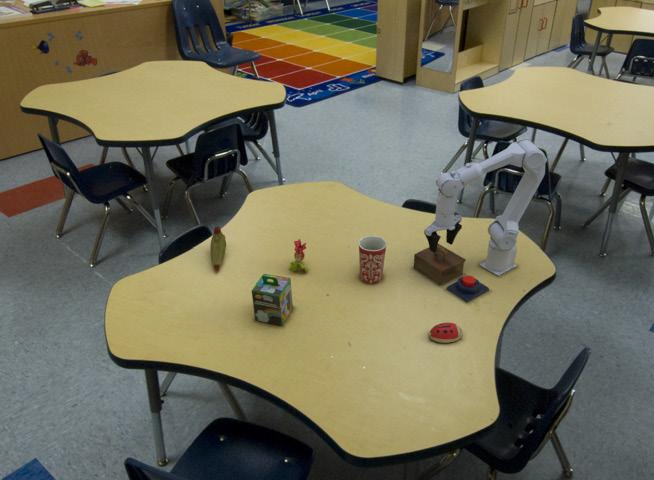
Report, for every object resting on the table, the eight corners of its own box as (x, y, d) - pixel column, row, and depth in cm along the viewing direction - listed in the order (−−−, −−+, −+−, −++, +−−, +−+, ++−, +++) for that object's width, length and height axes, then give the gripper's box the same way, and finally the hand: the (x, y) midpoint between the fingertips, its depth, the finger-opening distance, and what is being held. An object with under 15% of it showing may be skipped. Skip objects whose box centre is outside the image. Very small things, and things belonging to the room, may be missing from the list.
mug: (384, 286, 188) (386, 251, 181) (356, 284, 189) (357, 249, 182) (386, 264, 198) (387, 230, 191) (359, 262, 199) (360, 229, 192)
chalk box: (293, 308, 179) (291, 268, 171) (282, 326, 172) (279, 286, 164) (265, 302, 182) (262, 263, 174) (253, 320, 174) (249, 280, 167)
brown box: (435, 258, 201) (436, 245, 198) (462, 274, 192) (464, 261, 190) (413, 268, 196) (414, 255, 193) (440, 286, 187) (441, 272, 185)
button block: (468, 278, 191) (469, 270, 189) (488, 290, 185) (489, 283, 183) (446, 289, 186) (447, 281, 184) (467, 302, 180) (468, 295, 178)
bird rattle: (289, 268, 201) (288, 274, 192) (289, 236, 199) (287, 240, 190) (307, 268, 201) (307, 274, 192) (307, 236, 199) (306, 240, 190)
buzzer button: (468, 278, 186) (468, 273, 185) (477, 284, 183) (478, 279, 182) (459, 282, 184) (459, 278, 183) (469, 288, 181) (469, 284, 180)
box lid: (437, 244, 199) (438, 234, 196) (465, 260, 190) (466, 250, 188) (414, 255, 193) (415, 245, 191) (441, 272, 185) (443, 262, 182)
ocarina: (224, 274, 195) (221, 248, 190) (208, 274, 195) (205, 249, 190) (228, 242, 212) (225, 218, 207) (213, 242, 212) (210, 219, 207)
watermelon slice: (466, 341, 165) (467, 331, 163) (433, 347, 163) (434, 337, 161) (456, 326, 171) (457, 316, 169) (424, 331, 169) (425, 322, 167)
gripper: (438, 222, 176) (434, 260, 183) (470, 208, 183) (465, 245, 190) (421, 213, 181) (418, 250, 188) (454, 200, 188) (449, 236, 195)
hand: (441, 247), depth 189 cm, fingers open, 7 cm apart
